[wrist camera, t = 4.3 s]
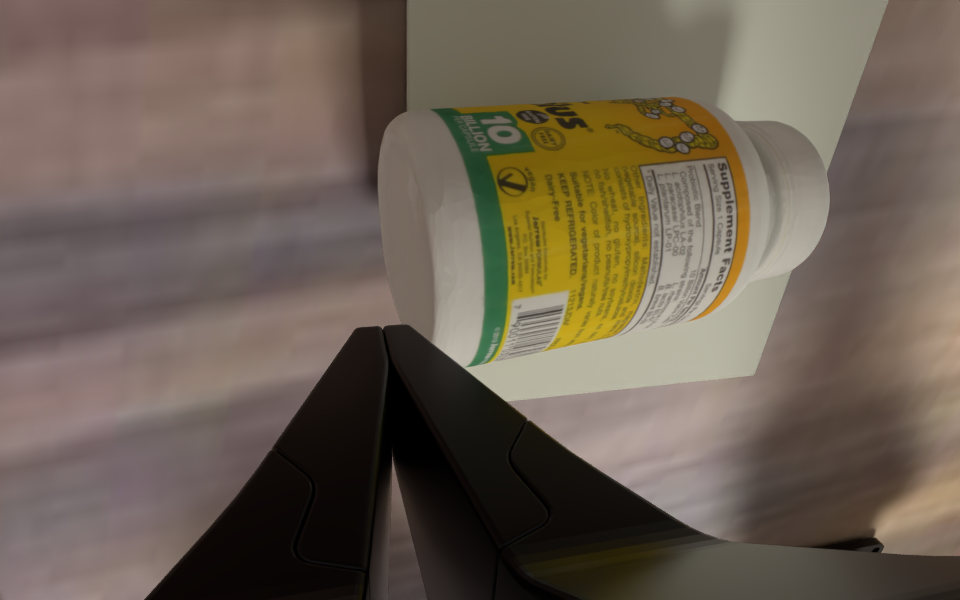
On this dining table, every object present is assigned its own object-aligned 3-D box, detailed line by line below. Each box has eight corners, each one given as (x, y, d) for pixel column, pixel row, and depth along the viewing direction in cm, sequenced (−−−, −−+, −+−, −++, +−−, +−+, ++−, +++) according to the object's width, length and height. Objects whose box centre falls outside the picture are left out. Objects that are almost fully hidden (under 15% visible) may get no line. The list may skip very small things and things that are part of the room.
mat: (902, -66, 15) (912, -67, 15) (749, 370, 22) (754, 375, 21) (406, -121, 12) (408, -124, 12) (406, 405, 19) (408, 411, 18)
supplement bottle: (451, 411, 10) (861, 319, 13) (415, 82, 9) (869, 66, 12) (392, 343, 15) (696, 288, 18) (364, 129, 14) (691, 110, 17)
